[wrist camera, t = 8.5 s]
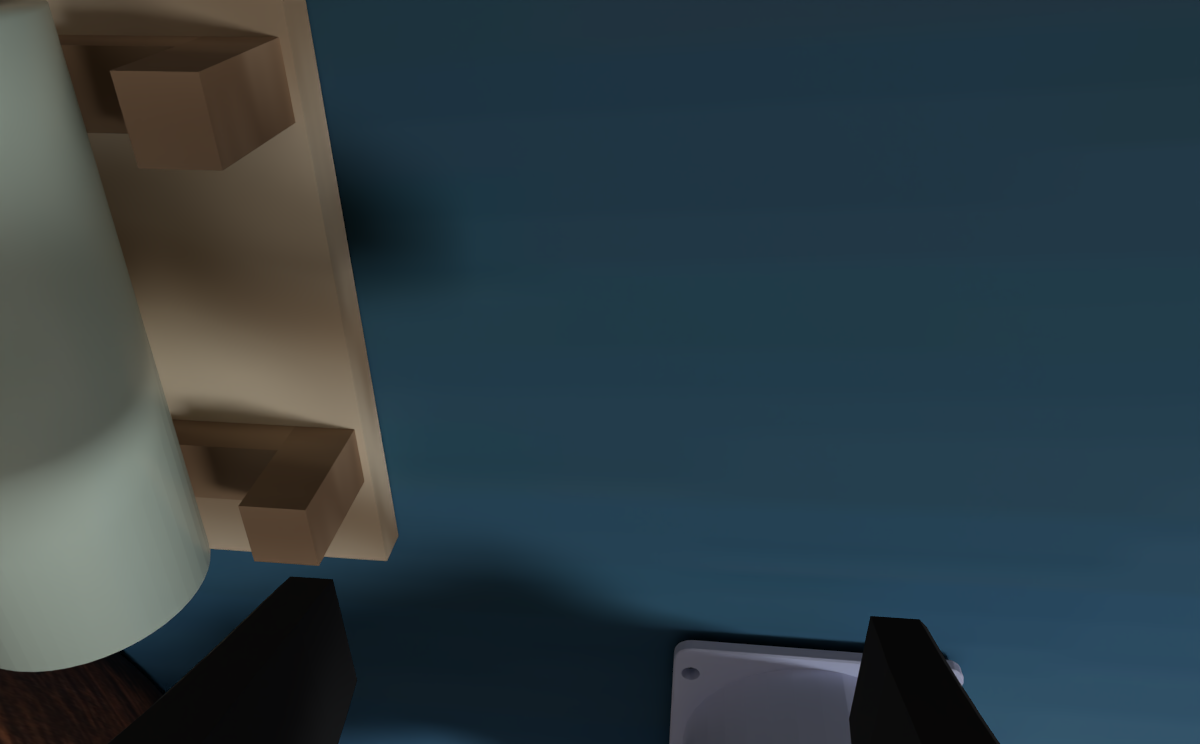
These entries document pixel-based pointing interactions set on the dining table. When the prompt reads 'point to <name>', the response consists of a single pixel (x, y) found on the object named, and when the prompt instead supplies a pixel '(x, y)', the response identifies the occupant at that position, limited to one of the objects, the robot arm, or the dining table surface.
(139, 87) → the bottle rest
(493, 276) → the dining table surface
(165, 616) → the bottle
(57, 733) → the wooden bowl
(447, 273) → the dining table surface
